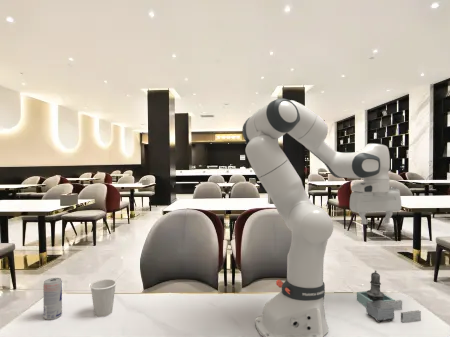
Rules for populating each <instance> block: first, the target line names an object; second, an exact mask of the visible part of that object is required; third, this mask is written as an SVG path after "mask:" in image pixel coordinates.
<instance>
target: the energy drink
mask: <svg viewBox="0 0 450 337" xmlns="http://www.w3.org/2000/svg"><path fill="white" fill-rule="evenodd" d="M62 281H63V280H62V277H61V278H60V277H52V278H48V279H45V280H44V282H43V284H42V285H43V286H42V287H43V319H45V320H47V321H51V320H52V321H53V320H55V319H56V320H57V319H59V318H60V317H61V316H62V313H63V301H62V300H63V282H62Z"/></svg>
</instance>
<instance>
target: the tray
mask: <svg viewBox="0 0 450 337" xmlns="http://www.w3.org/2000/svg"><path fill="white" fill-rule="evenodd" d="M367 291H368V290H366V291H365V290H364V291H357V292H356V301H357V302H358V303H360V304H362V305H363V306H364V307H366V308H367V302H370V301H372V300H370V299H369V298H368V295H367ZM383 294H384V296H383V299H382V301H384V302H388V301H396V299H394V298H393V297H391V296H389V295H386V294H385V293H383Z"/></svg>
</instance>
